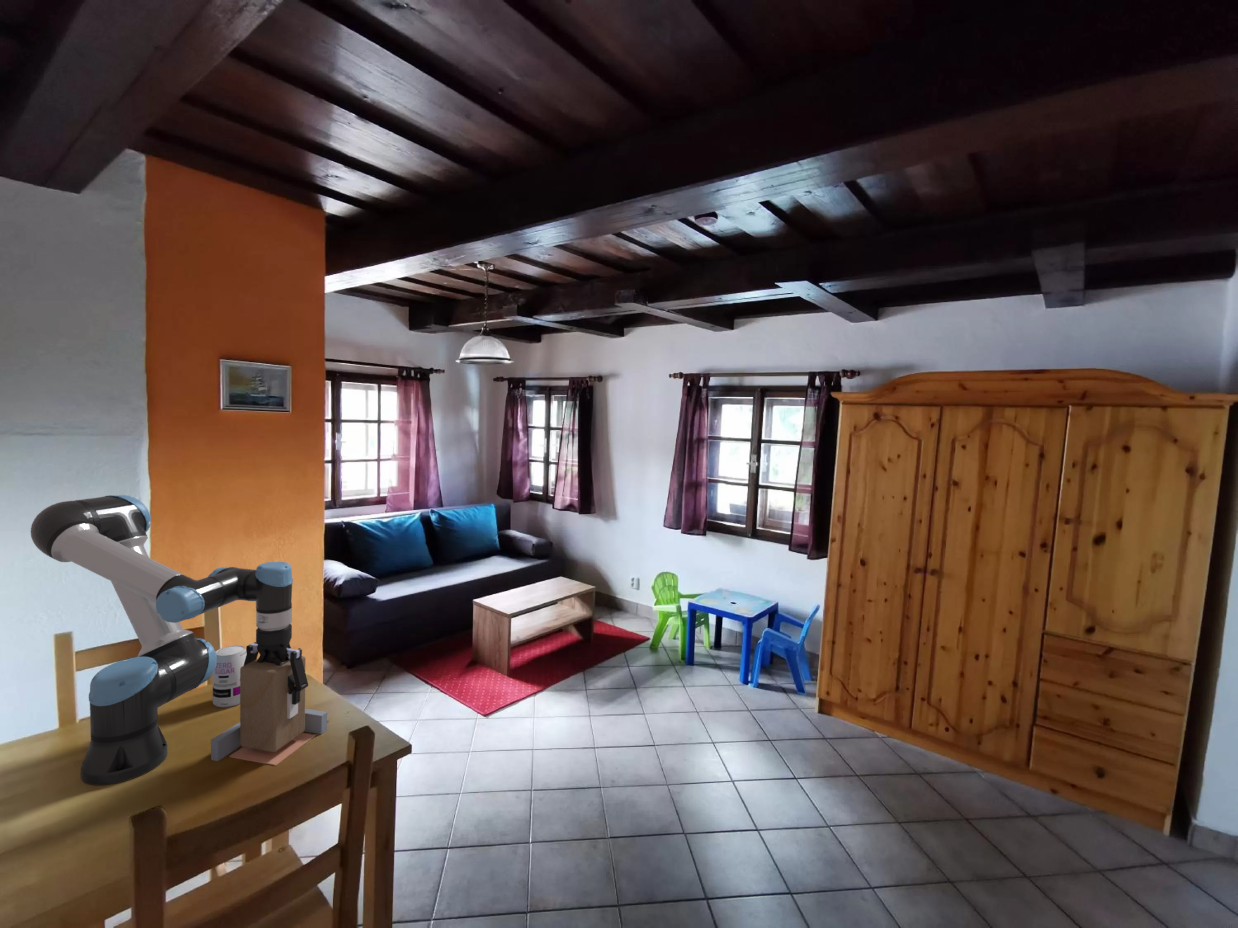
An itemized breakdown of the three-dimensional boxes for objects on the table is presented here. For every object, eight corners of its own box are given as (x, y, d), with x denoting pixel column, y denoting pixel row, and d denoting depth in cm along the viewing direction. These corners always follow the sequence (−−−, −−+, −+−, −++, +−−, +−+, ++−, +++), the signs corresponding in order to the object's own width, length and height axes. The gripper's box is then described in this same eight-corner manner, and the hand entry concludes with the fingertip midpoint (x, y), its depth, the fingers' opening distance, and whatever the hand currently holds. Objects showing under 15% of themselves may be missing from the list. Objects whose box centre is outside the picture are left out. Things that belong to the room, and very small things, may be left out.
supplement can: (245, 691, 166) (245, 642, 164) (249, 703, 159) (249, 652, 158) (211, 699, 160) (211, 648, 159) (214, 711, 154) (213, 658, 153)
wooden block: (239, 746, 136) (239, 666, 134) (272, 724, 146) (272, 650, 144) (274, 753, 134) (274, 672, 132) (305, 731, 144) (306, 655, 142)
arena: (207, 758, 134) (207, 738, 133) (267, 720, 151) (268, 702, 151) (272, 771, 130) (273, 750, 130) (326, 730, 148) (327, 711, 148)
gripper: (221, 625, 136) (221, 713, 138) (303, 636, 132) (302, 727, 134) (247, 615, 143) (247, 698, 145) (325, 625, 139) (324, 711, 141)
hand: (273, 712), depth 139 cm, fingers closed on wooden block, 10 cm apart
